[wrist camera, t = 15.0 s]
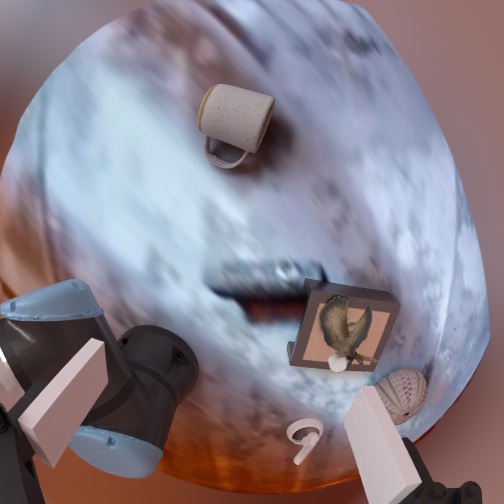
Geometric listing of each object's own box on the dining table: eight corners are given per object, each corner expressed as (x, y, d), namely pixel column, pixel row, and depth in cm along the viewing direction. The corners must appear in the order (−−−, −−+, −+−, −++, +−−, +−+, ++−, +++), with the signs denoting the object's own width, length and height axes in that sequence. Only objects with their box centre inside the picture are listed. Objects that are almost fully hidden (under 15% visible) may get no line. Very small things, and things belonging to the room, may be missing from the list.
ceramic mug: (219, 90, 35) (210, 71, 28) (274, 107, 36) (278, 91, 28) (193, 159, 38) (179, 154, 30) (249, 177, 38) (247, 176, 31)
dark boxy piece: (363, 355, 44) (374, 372, 39) (286, 347, 44) (290, 366, 39) (387, 291, 42) (401, 304, 36) (305, 278, 41) (311, 291, 36)
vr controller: (275, 429, 42) (311, 445, 39) (301, 406, 52) (331, 418, 49) (263, 457, 42) (296, 473, 39) (290, 433, 52) (318, 445, 49)
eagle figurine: (383, 341, 37) (378, 292, 33) (373, 380, 31) (368, 333, 28) (334, 339, 41) (323, 293, 37) (319, 375, 36) (305, 330, 32)
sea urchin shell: (426, 356, 45) (446, 379, 37) (411, 405, 48) (425, 428, 40) (367, 369, 45) (382, 396, 37) (356, 418, 48) (366, 445, 41)
